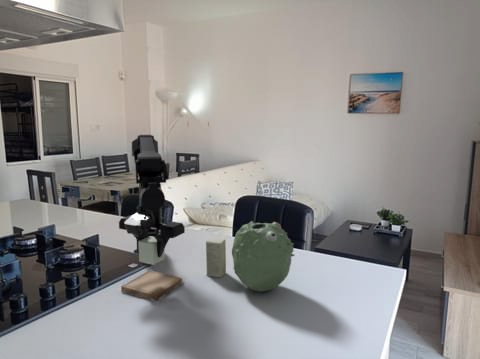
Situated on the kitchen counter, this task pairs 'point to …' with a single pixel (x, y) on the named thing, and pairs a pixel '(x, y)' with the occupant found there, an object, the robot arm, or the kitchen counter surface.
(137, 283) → the plinth
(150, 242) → the block
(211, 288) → the kitchen counter surface
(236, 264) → the green bumpy vase
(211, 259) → the box
